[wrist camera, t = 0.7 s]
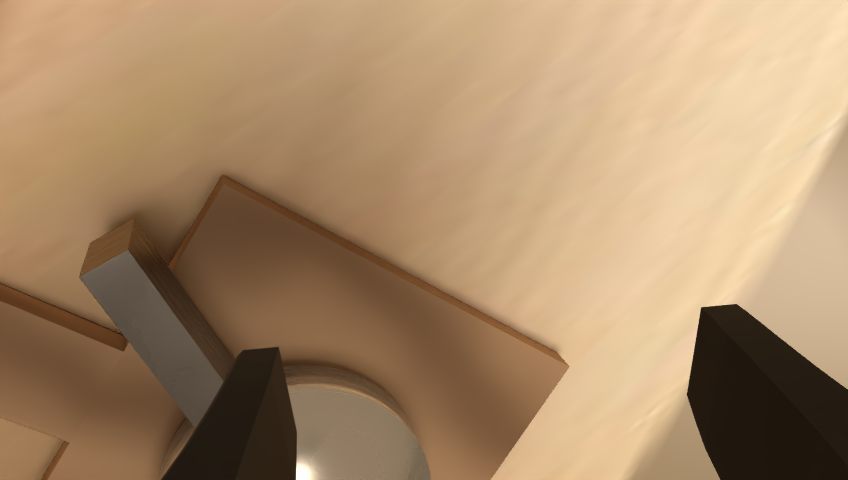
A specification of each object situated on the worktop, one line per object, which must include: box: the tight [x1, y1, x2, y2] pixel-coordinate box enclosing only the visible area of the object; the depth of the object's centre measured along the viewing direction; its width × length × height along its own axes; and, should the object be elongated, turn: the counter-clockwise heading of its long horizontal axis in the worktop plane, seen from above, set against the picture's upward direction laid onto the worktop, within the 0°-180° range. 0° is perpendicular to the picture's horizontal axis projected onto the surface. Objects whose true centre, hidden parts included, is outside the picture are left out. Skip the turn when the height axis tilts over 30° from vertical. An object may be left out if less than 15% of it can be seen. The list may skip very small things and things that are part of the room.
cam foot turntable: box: [79, 219, 431, 480], centre depth 28 cm, size 17×10×4 cm, turn 26°
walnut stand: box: [0, 175, 569, 480], centre depth 31 cm, size 18×22×1 cm
